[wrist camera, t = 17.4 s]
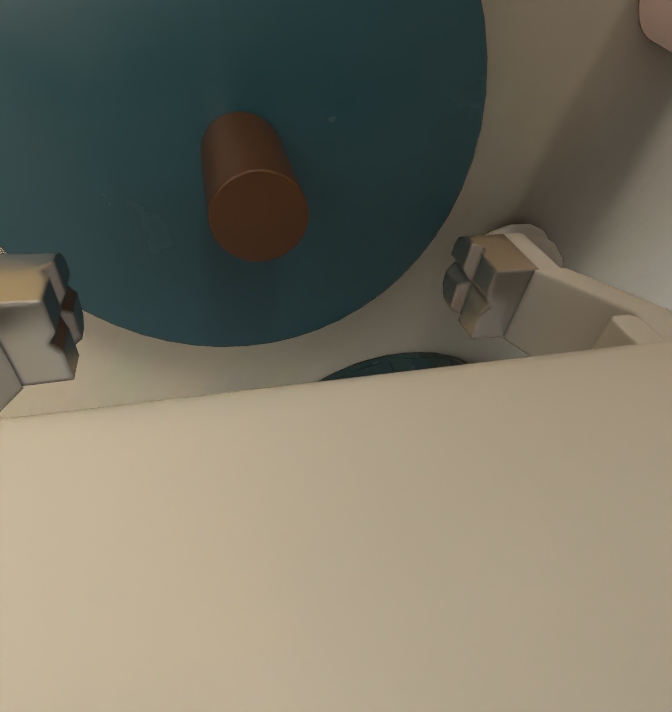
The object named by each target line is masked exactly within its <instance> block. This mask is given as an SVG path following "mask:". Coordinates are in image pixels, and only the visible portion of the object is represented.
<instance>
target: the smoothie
mask: <svg viewBox="0 0 672 712" xmlns="http://www.w3.org/2000/svg"><path fill="white" fill-rule="evenodd" d="M639 19H640V24H641V27H642V30H643V32H644V33H645V35H646V36H647V37H648V38H649V39H650V40H652V41H653V42H655V43H657V44H659V45H660V46H662V47H664V48H666V49H667V50H669V51H671V52H672V0H640V2H639Z"/></svg>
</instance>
